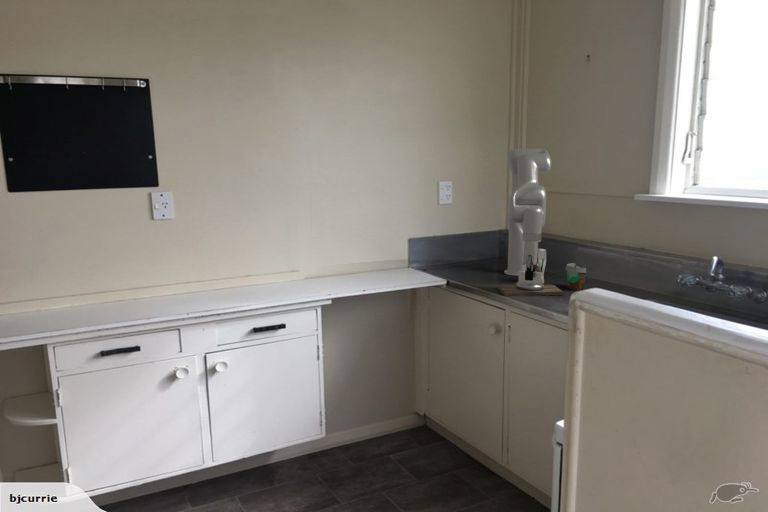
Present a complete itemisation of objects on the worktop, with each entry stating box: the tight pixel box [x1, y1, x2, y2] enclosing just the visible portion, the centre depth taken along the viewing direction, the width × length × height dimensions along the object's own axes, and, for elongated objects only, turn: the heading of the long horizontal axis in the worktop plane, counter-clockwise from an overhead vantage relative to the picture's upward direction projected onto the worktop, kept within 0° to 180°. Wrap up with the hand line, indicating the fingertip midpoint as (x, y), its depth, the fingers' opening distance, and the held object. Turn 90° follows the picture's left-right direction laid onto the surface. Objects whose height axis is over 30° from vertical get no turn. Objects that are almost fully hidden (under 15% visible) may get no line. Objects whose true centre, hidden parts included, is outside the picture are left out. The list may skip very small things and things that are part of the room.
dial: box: [516, 271, 545, 290], centre depth 255 cm, size 11×11×7 cm
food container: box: [565, 262, 587, 291], centre depth 261 cm, size 12×6×10 cm, turn 5°
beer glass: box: [535, 248, 547, 284], centre depth 273 cm, size 7×7×15 cm
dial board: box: [496, 283, 565, 297], centre depth 255 cm, size 15×24×2 cm, turn 91°
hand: (530, 278), depth 255 cm, fingers open, 9 cm apart
